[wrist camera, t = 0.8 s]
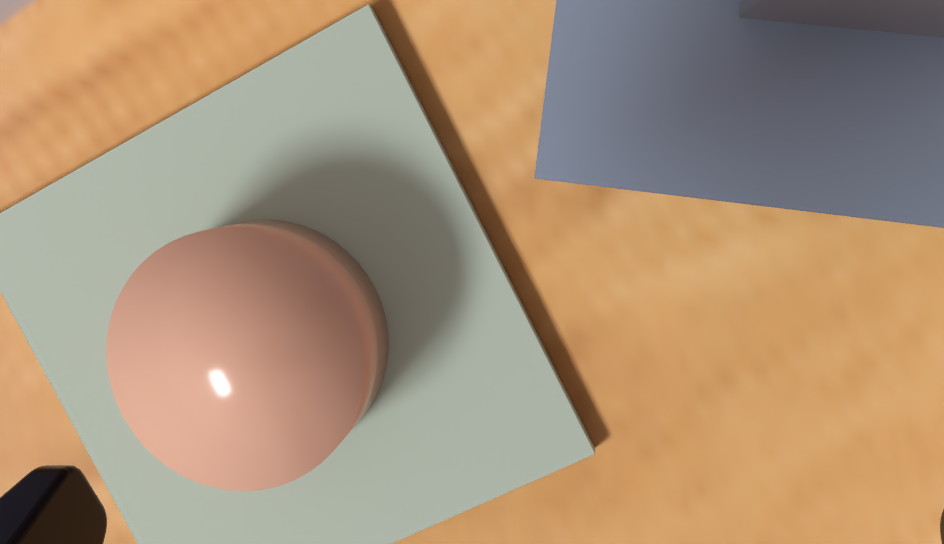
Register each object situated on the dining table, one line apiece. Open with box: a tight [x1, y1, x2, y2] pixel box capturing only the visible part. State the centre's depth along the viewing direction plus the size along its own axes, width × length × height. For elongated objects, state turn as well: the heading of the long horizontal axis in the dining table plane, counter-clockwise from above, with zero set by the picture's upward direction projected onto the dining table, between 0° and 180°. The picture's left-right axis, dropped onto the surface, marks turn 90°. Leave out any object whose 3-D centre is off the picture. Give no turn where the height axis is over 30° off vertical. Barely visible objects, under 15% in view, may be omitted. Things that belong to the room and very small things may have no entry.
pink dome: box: [106, 220, 389, 491], centre depth 21 cm, size 6×6×2 cm
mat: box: [0, 5, 595, 544], centre depth 23 cm, size 12×12×1 cm
